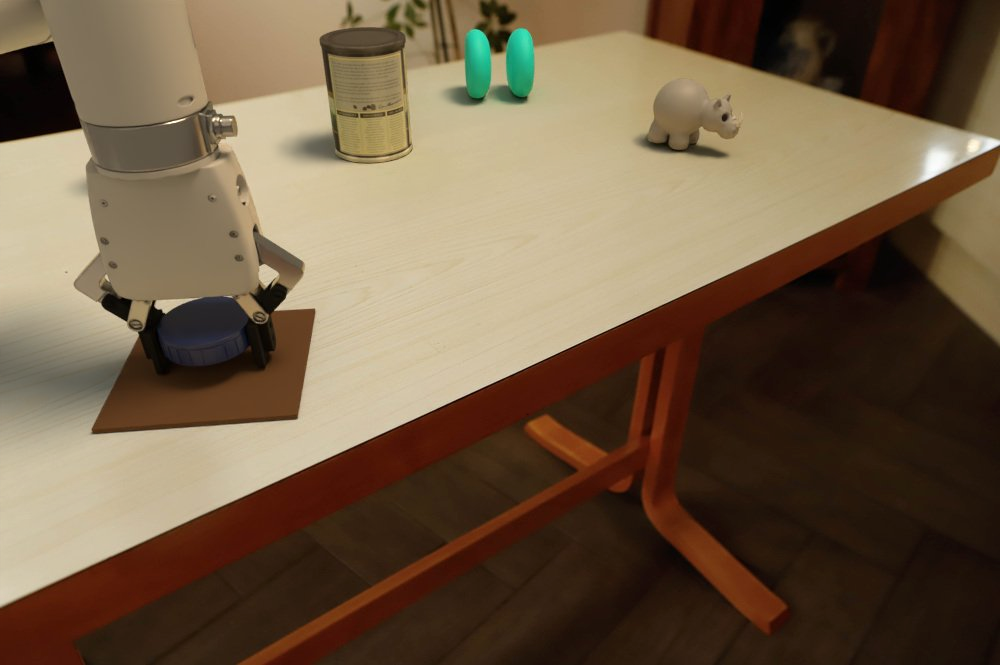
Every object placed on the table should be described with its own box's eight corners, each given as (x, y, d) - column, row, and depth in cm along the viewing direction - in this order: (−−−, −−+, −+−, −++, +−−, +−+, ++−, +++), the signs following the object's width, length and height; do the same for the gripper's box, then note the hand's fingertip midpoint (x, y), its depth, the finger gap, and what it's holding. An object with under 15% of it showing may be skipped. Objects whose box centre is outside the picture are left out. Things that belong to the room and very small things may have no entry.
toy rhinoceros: (722, 166, 91) (735, 98, 86) (638, 144, 97) (646, 80, 92) (745, 150, 95) (759, 85, 90) (664, 130, 101) (673, 68, 96)
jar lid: (274, 337, 55) (269, 317, 54) (193, 379, 51) (186, 357, 50) (225, 306, 59) (220, 286, 58) (146, 342, 55) (139, 321, 54)
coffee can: (319, 147, 95) (303, 35, 87) (383, 130, 101) (374, 22, 93) (362, 170, 89) (349, 51, 81) (428, 150, 95) (422, 37, 87)
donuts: (464, 88, 118) (463, 22, 112) (525, 86, 119) (526, 21, 113) (469, 107, 110) (468, 38, 104) (534, 105, 110) (536, 36, 105)
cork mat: (92, 433, 50) (90, 429, 50) (149, 321, 62) (147, 317, 61) (297, 418, 52) (296, 414, 51) (315, 312, 63) (315, 308, 63)
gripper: (298, 113, 50) (332, 326, 60) (34, 122, 48) (115, 340, 58) (284, 152, 44) (325, 382, 54) (-19, 164, 42) (82, 399, 52)
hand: (215, 358), depth 56 cm, fingers closed on jar lid, 6 cm apart
